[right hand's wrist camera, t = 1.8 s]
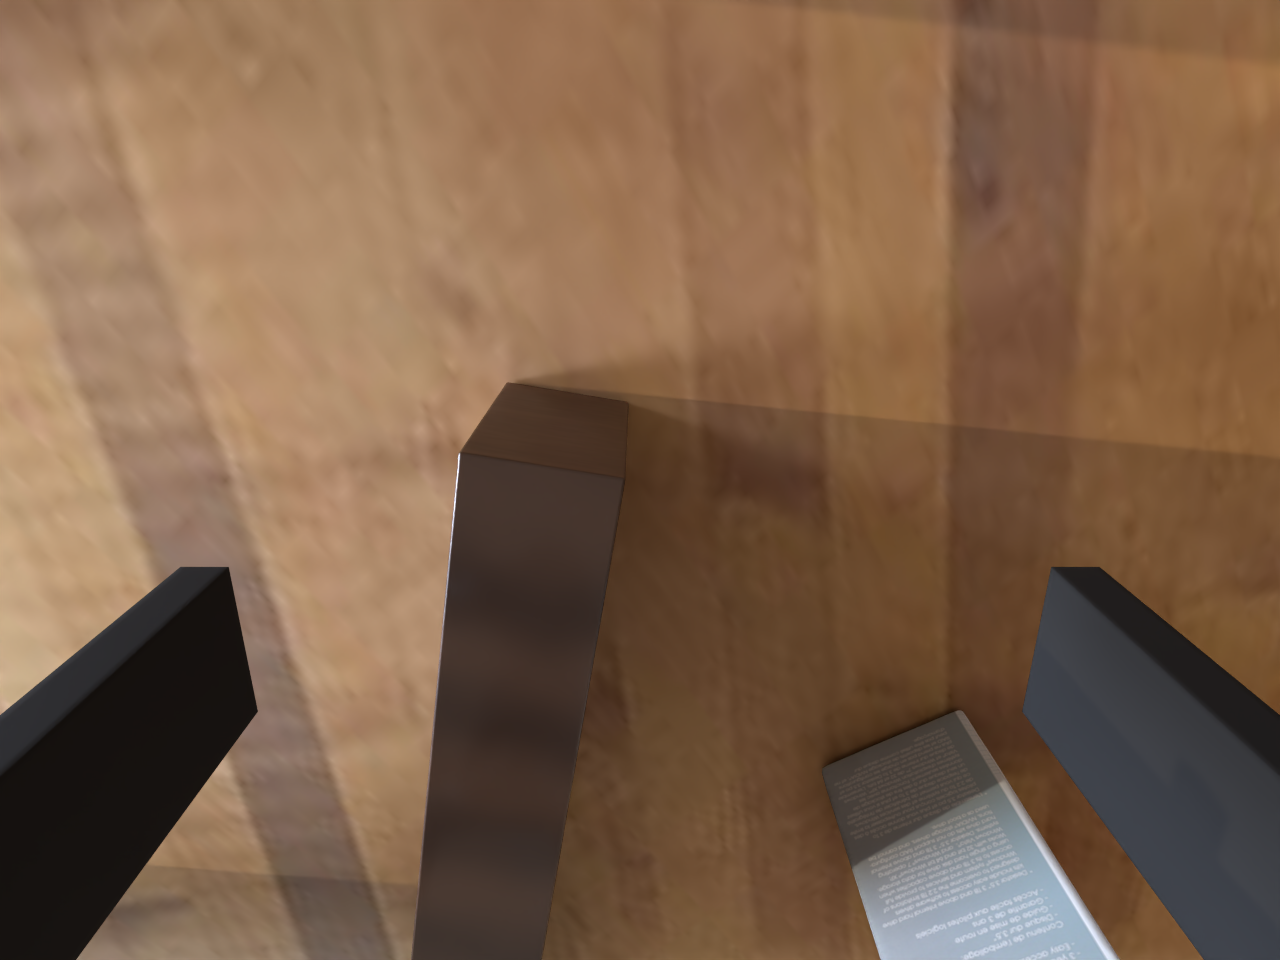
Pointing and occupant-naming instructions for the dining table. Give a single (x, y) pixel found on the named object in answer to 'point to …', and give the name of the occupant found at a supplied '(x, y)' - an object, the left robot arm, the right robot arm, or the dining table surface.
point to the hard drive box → (953, 854)
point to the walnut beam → (515, 666)
